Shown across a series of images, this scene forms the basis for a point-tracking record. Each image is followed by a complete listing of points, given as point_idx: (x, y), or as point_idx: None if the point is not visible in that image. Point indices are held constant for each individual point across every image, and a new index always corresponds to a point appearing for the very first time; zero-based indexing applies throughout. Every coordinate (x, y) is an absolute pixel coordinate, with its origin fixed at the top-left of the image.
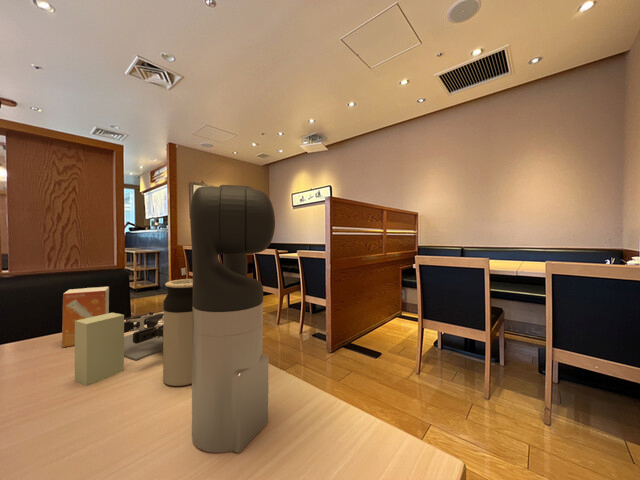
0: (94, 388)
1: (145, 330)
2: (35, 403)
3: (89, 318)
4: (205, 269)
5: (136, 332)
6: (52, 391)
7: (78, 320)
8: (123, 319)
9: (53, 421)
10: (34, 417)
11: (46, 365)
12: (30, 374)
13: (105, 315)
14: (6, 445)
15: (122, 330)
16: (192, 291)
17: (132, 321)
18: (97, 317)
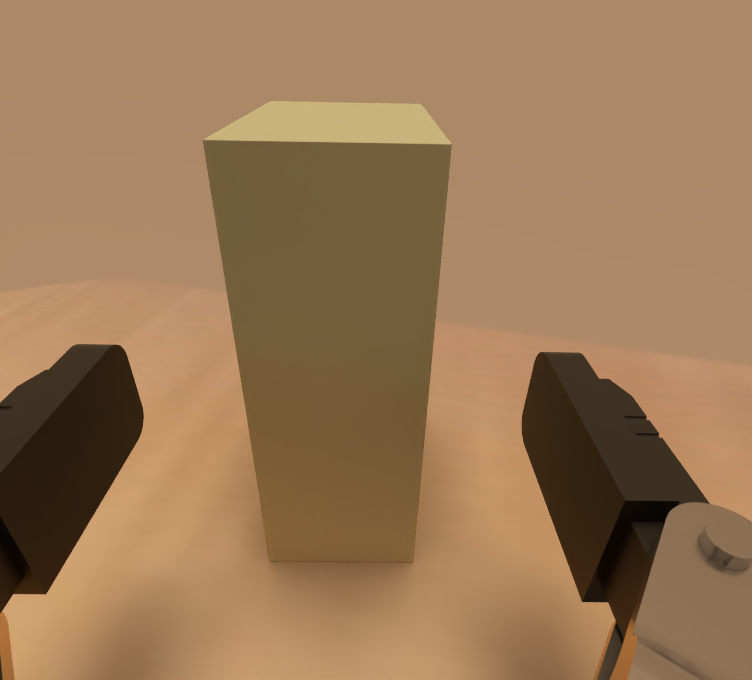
0: (241, 422)
1: (19, 407)
2: None
3: (398, 112)
4: None
5: (83, 346)
6: None
7: (410, 105)
8: (214, 192)
9: (182, 329)
10: None
11: (729, 432)
12: (639, 385)
13: (382, 127)
14: (201, 289)
15: (230, 297)
16: None
17: (647, 553)
18: (376, 118)
